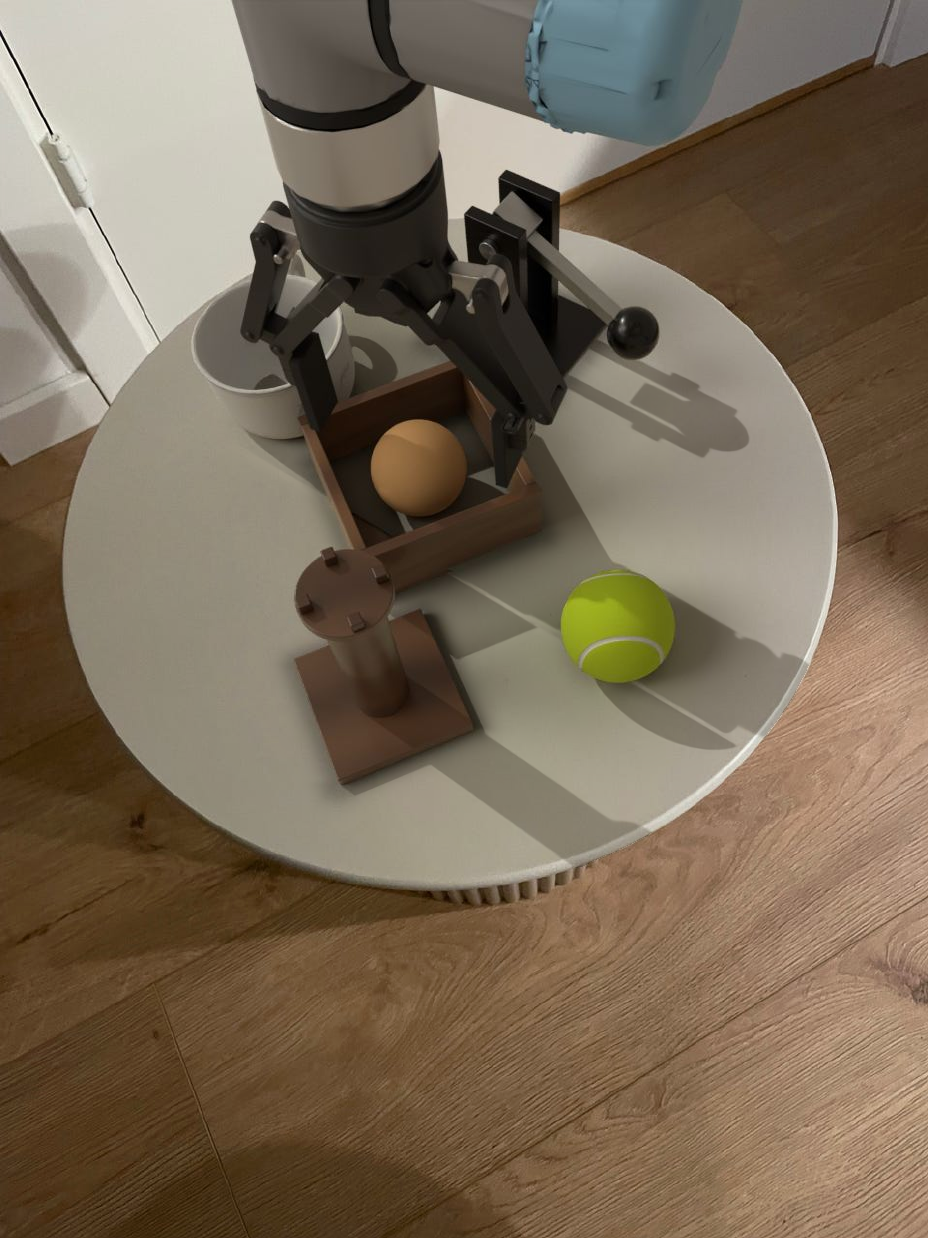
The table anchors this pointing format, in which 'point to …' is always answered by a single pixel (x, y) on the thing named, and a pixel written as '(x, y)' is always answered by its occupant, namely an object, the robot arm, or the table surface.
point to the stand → (371, 668)
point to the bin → (443, 539)
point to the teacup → (264, 359)
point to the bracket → (533, 268)
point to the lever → (585, 287)
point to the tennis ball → (617, 626)
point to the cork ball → (418, 468)
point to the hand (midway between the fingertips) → (414, 442)
